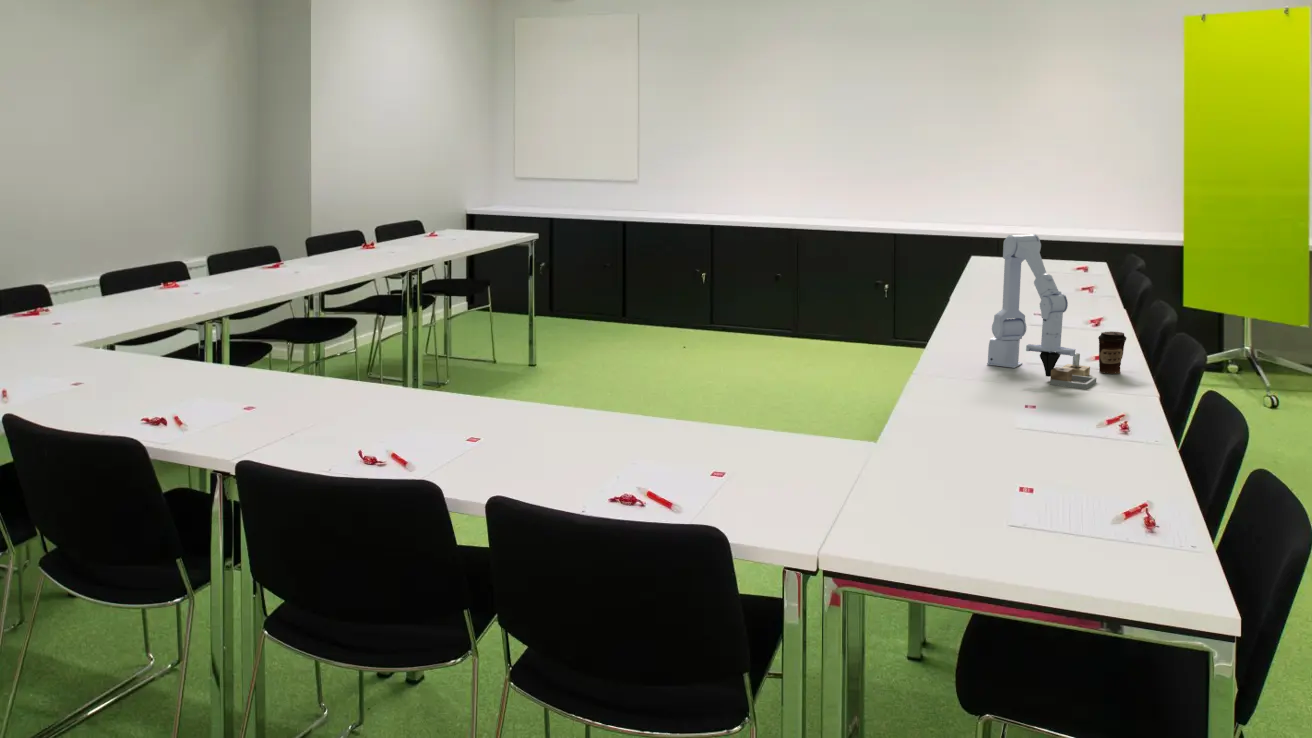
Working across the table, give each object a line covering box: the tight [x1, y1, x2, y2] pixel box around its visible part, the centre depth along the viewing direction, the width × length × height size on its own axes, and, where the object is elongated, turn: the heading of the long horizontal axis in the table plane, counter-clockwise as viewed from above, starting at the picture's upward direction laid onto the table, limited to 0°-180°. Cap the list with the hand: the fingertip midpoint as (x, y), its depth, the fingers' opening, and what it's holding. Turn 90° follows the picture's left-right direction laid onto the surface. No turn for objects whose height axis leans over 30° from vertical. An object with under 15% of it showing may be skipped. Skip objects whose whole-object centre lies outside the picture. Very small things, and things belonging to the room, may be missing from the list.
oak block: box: [1061, 363, 1091, 377], centre depth 348 cm, size 7×7×3 cm
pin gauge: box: [1072, 352, 1081, 369], centre depth 347 cm, size 2×2×7 cm
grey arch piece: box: [1049, 375, 1098, 390], centre depth 337 cm, size 11×11×2 cm
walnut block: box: [1050, 366, 1073, 382], centre depth 339 cm, size 5×5×4 cm
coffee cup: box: [1097, 331, 1127, 375], centre depth 350 cm, size 9×8×13 cm
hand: (1048, 375), depth 341 cm, fingers closed
